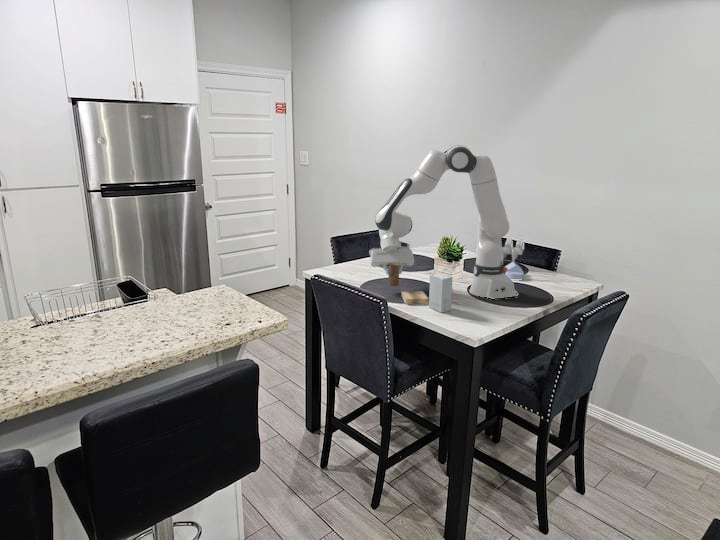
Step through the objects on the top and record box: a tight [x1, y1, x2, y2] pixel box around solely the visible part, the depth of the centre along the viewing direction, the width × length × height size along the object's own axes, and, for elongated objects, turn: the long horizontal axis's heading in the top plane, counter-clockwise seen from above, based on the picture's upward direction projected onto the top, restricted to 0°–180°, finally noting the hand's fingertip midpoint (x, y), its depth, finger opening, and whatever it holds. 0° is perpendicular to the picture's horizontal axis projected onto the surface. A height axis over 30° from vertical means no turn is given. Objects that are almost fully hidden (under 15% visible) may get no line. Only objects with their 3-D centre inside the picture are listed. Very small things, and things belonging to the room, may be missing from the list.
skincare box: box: [428, 272, 453, 314], centre depth 203 cm, size 8×6×15 cm
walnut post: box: [387, 263, 400, 287], centre depth 221 cm, size 4×4×10 cm
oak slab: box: [400, 290, 429, 305], centre depth 214 cm, size 10×10×3 cm
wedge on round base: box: [504, 261, 525, 279], centre depth 253 cm, size 9×7×13 cm
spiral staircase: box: [475, 235, 525, 266], centre depth 274 cm, size 18×18×25 cm
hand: (394, 273), depth 220 cm, fingers closed on walnut post, 4 cm apart
